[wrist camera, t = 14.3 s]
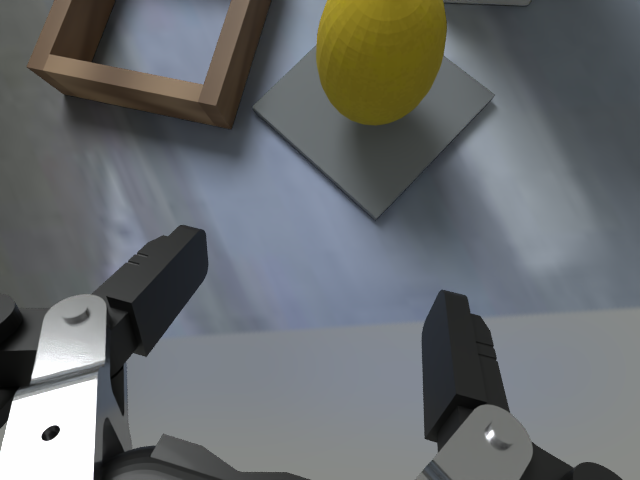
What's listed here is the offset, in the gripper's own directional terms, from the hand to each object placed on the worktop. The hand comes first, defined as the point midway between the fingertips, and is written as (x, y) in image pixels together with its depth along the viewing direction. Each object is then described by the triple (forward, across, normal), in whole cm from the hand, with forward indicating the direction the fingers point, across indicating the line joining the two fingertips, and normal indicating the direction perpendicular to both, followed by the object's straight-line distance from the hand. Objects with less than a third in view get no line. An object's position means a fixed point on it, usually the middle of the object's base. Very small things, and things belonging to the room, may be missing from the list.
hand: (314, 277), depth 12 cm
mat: (+12, 0, -3) cm, 13 cm away
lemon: (+12, 0, -3) cm, 12 cm away
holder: (+14, +13, -4) cm, 20 cm away
